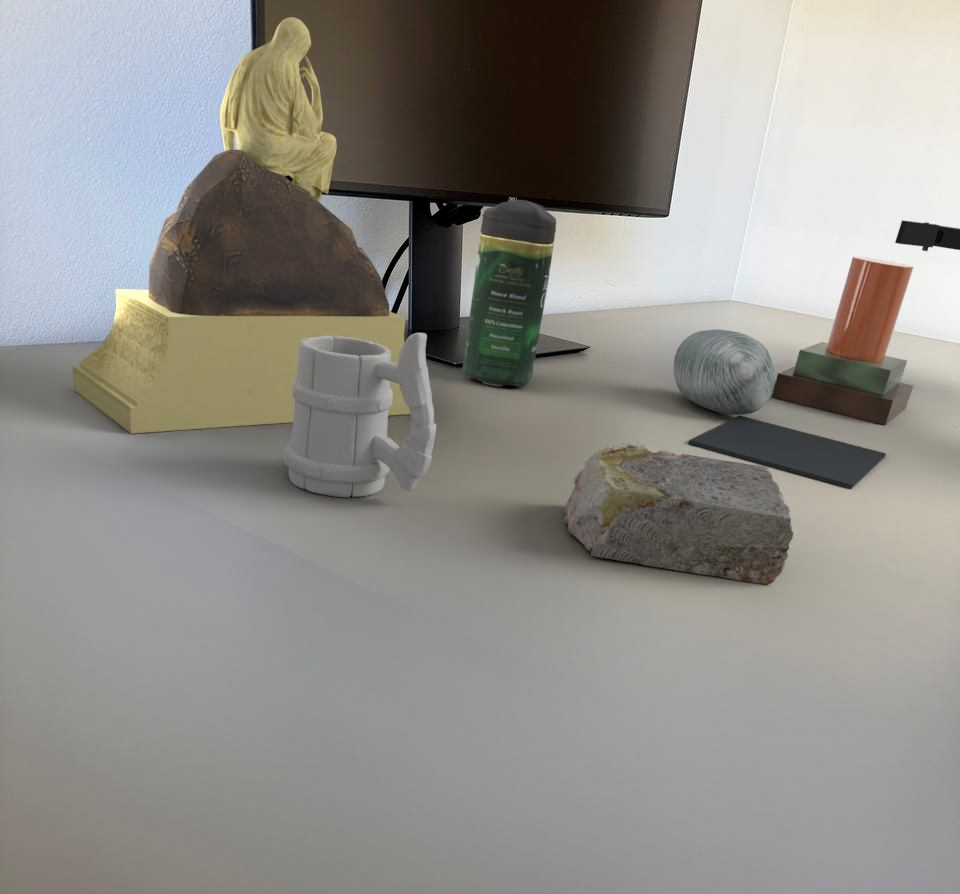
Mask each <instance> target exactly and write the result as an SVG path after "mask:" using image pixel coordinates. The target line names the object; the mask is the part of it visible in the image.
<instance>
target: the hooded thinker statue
mask: <svg viewBox="0 0 960 894" xmlns="http://www.w3.org/2000/svg"><path fill="white" fill-rule="evenodd" d="M311 47H312V39H311V34H310V31H309V29H308V27H307V26H306V24H305V23H304V22H303V21H302V20H301V19H299V18H296V17H293V16H291V17H286V18H284V19H282V21H281V22H279V24H278V25H277V27H276V30H275V32H274V35H273V37H271V39H270V40H269V41H268V42H267V43H266V44H263V45H261V46H259V47H257V48H255V49H253V50H250V51H248V53H246V54H245V55H243V56H242V57H241V59H240V60H239V61H238V63H237V65H236V67H235V69H234V70H233V72H232V74H231V76H230V79H229V80H228V83H227V87H226V90H225V92H224V96H223V99H222V101H221V106H220V112H219V121H220V128H221V134H222V141H223V148H224V151H222V152H219V153H217V154H215V155H214V156H213V157H212V158H211V160H209V161H208V163H207V164H206V165H205V166H204V168H203V169H201V171H200V172H199V173H198V174H197V175H196V177H195V178H194V179H193V180H192V181H191V182H190V183H189V185H187V187H186V188H185V189H184V192H183V194H182V196H181V198H180V201H179V203H178V204H177V205H178V206H177V208H176V210H175V212H174V213H172V214H171V215H170V216H168V217H166V218H165V219H164V220H163V223H162V227H161V230H160V232H159V235H158V238H157V241H156V243H155V247H154V250H153V252H152V255H151V257H150V260H149V261H150V262H149V264H148V289H118V288H117V289H115V301H116V302H115V305H116V306H115V307H116V309H115V313H114V318H113V322H112V328H111V329H110V331H109V333H108V334H107V336H106V337H105V338H104V340H103V341H102V343H101V344H100V346H98V347H97V348H96V349H94V350H93V351H92V352H91V353H90V354H89V355H87V356H86V357H85V358H83V359H82V360H81V361H80V362H79V363H80V364H79V365H72V383H73V391H75V392H76V393H77V394H78V395H80V396H81V397H82V398H84V399H85V400H86V401H87V402H89V403H90V404H92V405H93V406H94V407H96V408H97V409H98V410H99V411H101V412H102V413H104V414H105V415H106V416H107V417H109V418H110V419H111V420H113V421H114V422H115V423H116V424H118V425H119V426H121V427H122V428H123V429H124V430H126V431H127V432H128V433H129V434H143V433H160V432H173V431H174V432H175V431H187V430H201V429H203V430H204V429H217V428H230V427H242V426H243V427H246V426H258V425H259V426H260V425H272V424H288V423H293V416H294V405H295V398H294V397H293V396H292V385H293V381H294V380H295V379H296V378H297V370H298V358H299V347H300V341H301V340H303V339H304V338H312V337H321V336H331V337H332V338H333V337H334V336H342V337H350V338H356V339H361V340H365V341H370V342H373V343H377V344H380V345H383V346H385V347H386V348H388V349H389V350H390V351H391V362H392V363H395V364H397V365H398V357H399V353H400V350H401V348H402V346H403V344H404V343H405V342H406V341H405V327H406V318H407V317H405V316H402V315H400V314H397V313H395V312H391V311H390V303H389V300H388V298H387V294H386V292H385V288H384V284H383V281H382V278H381V275H380V274H379V272H378V270H377V268H376V267H375V265H374V264H373V262H372V261H371V259H370V257H369V256H368V254H367V253H366V251H365V250H364V248H362V247H361V246H358V244H357V241H356V237H355V235H354V232H353V229H351V227H350V226H348V225H347V224H346V223H345V222H344V221H342V220H341V219H340V218H339V217H338V216H336V215H335V214H334V213H333V212H331V210H330V209H328V208H327V207H326V206H325V205H323V204H322V203H321V199H322V195H323V193H324V194H326V195H329V190H330V185H331V180H332V179H331V178H332V174H333V173H332V172H333V167H334V160H335V157H336V154H337V148H338V145H337V138H336V136H335V135H333V134H332V133H329V132H326V131H322V125H323V119H324V113H323V104H322V97H321V90H320V85H319V81H318V78H317V76H316V74H315V71H314V69H313V66H312V64H311V61H310V60H309V58H308V56H307V53H308V52H309V50H310V48H311ZM304 58H305V61H306V66H307V67H306V66H302V67H301V68H300V62H301V61H302V60H303V59H304ZM300 71H303V72H302V74H300ZM301 77H302V78H301ZM305 77H306V80H307V82H308V84H309V86H310V89H311V103H310V100H309V98H308V96H307V92H306V90H305V89H306V88H305V87H304V84H303V82H302V79H303V80H304V79H305ZM234 138H235V139H234ZM234 141H235V143H236V145H235V143H234ZM235 146H236V149H235ZM399 386H400V384H398V383H395V382H392V381H390V388H391V390H392V392H393V398H392V405H391V406H390V408H389V409H388V417H389V416H402V415H411V414H410V411H409V407H408V406H407V405H406V403H405V401H404V398H403V395H402V392H401V390H400V388H399Z"/></svg>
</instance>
